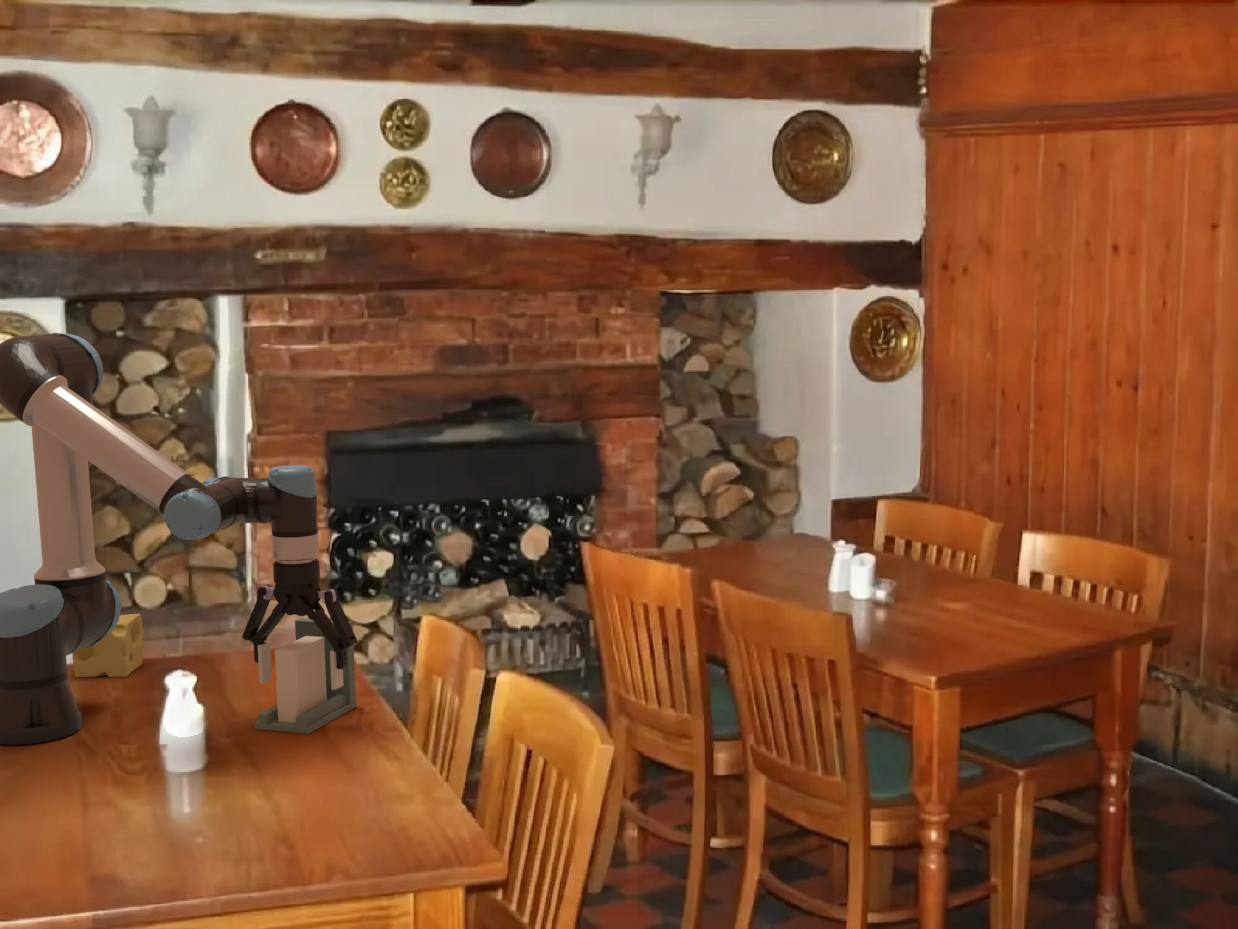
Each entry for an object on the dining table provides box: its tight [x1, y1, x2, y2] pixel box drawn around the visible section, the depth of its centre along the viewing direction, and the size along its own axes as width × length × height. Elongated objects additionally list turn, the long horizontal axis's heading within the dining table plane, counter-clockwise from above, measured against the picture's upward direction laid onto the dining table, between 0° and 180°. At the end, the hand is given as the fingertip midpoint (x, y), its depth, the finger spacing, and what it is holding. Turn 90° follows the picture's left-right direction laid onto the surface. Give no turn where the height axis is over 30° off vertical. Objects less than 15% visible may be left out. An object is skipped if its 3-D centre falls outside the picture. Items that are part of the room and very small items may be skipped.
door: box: [274, 636, 327, 723], centre depth 257 cm, size 10×4×12 cm, turn 162°
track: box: [254, 617, 357, 735], centre depth 258 cm, size 16×10×15 cm, turn 161°
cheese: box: [71, 613, 144, 678], centre depth 293 cm, size 10×11×10 cm
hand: (301, 684), depth 258 cm, fingers open, 13 cm apart
